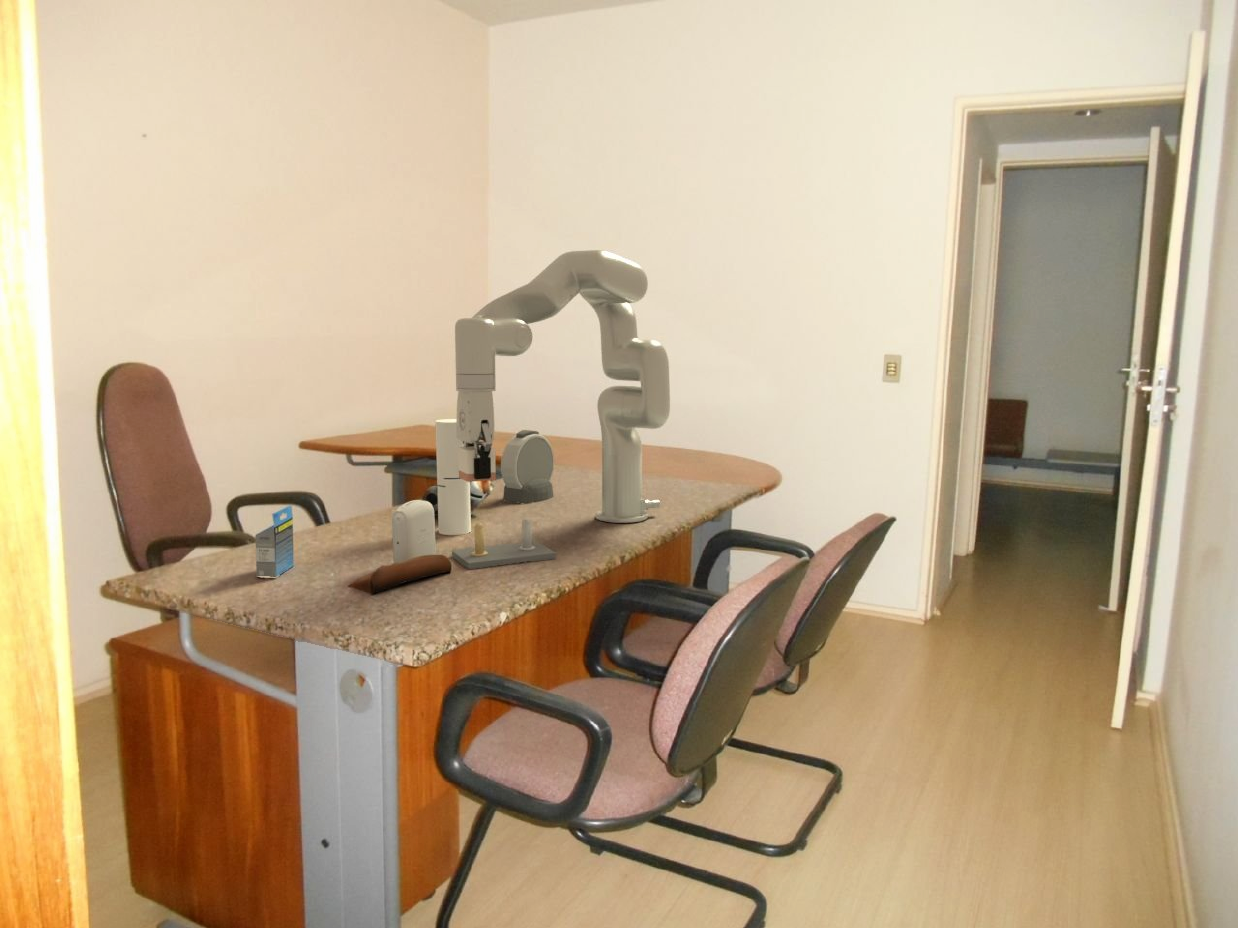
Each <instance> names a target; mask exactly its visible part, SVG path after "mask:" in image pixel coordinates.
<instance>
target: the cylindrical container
mask: <svg viewBox="0 0 1238 928" xmlns="http://www.w3.org/2000/svg"><path fill="white" fill-rule="evenodd" d="M434 421H435V445H436V447H435V451H436V454H435V455H436V480H437V481H436V482H437V483H436V484H437V485H436V486H437V489H438V515H437V517H438V519H437V520H438V534H440V535H444V536H461V535H467V534H469V532H470V533H471V532H472V522H471V521H472V520H471V519H472V517H471V515H472V514H471V509H470V482H467V481H465V480H463V479H461V478H459V453H458V447H464V444H463V441H461V440H459V439H458V438H457V436H456V421H457V418H447V419H446V418H444V419H443V418H442V419H437V420H434Z"/></svg>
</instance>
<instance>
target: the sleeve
mask: <svg viewBox="0 0 1238 928" xmlns="http://www.w3.org/2000/svg"><path fill="white" fill-rule="evenodd" d="M480 447H481V446H479V450H480ZM458 453H459V478H461V479H463V480H465V481H467V482H473V481H487V480H490V481H496V476H497V475H496V468H497V467H496V449H495V448H493V447H491V478H489V479H475V478H474V458H476V456H475V448H474V446H472V447H458Z"/></svg>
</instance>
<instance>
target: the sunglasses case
mask: <svg viewBox="0 0 1238 928" xmlns="http://www.w3.org/2000/svg"><path fill="white" fill-rule="evenodd" d="M451 572H452V563H451V561H450V559H449V557H447V556H446V555H443V554H436V555H424V556H419V557H415V558H411V559H408V560H406V561H403V562H400V563H394V562H392V563H391V564H388V565H381V566H379V568H377V569H376V570H375V571H374V572H371V573H369V574H366V575H363V576H361V577H359V578H356V579H355V580H354V581H352V582H351V583H349V584H348V585H347V587H348V588H351V589H354V590H357V591H360V592H363V593H366V594H369V595H373V594H374V593H379V592H381V591H385V590H386V589H390V588H393V587H395V586H399V585H401V584H403V583H405V582H406V583H407V582H411V581H417V580H419V579H421V578H426V577H431V576H435V575H438V574H442V573H447V574H451Z"/></svg>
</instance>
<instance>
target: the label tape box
mask: <svg viewBox="0 0 1238 928" xmlns="http://www.w3.org/2000/svg"><path fill="white" fill-rule="evenodd" d="M292 507H293V506H292V504H289V505H288V506H286V507H284V508H281V509H279V510H277V511H275V512H272V513H271V515H272V522H273V525H271V526H269V527H267V528H265V529H263V530H262V531H260V532H258V533H256V534H255V538H254V539H255V563H256V564H255V570H256V577H257V576H270V577H277V576H278V575H280V574H281V573H283V572H284V573H286V572H287V571H289V570H290V569H292V568H293V567H294V566H295V565H294V561H295V560H294V529H293V528H294V523H293V522H294V521H293V518H294V517H293V508H292ZM283 515H286V516H285V517H283V518H281V517H282V516H283ZM292 566H293V567H292ZM291 567H292V568H291ZM289 568H290V569H289ZM288 569H289V570H288ZM286 570H287V571H286ZM285 571H286V572H285ZM284 573H283V574H284Z"/></svg>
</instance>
